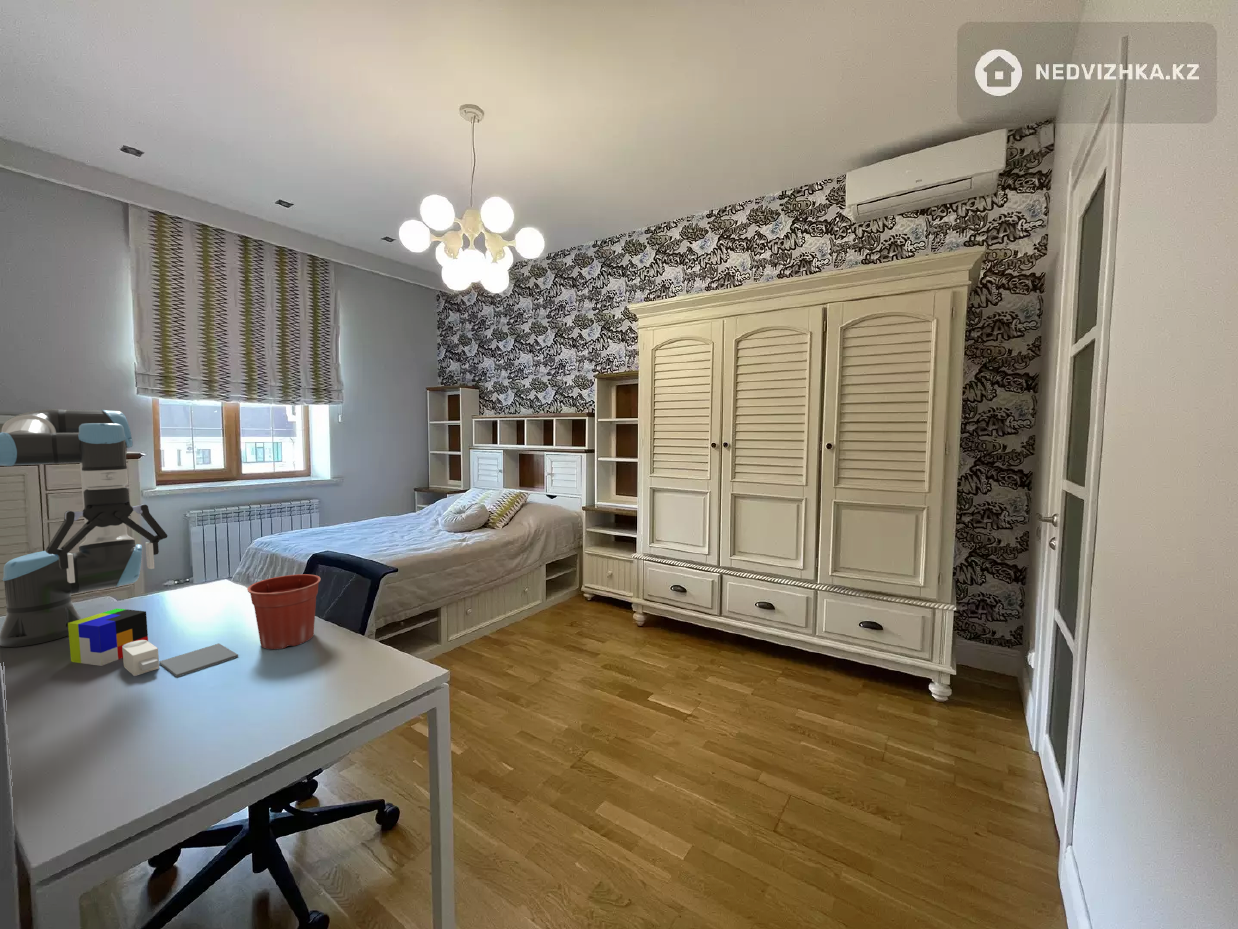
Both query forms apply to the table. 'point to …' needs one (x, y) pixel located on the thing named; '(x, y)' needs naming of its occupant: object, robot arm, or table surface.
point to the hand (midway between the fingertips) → (113, 575)
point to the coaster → (198, 659)
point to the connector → (140, 657)
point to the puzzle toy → (105, 635)
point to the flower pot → (285, 609)
